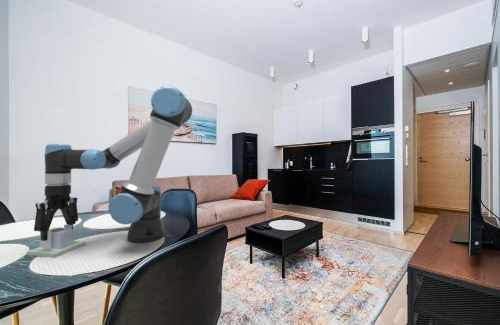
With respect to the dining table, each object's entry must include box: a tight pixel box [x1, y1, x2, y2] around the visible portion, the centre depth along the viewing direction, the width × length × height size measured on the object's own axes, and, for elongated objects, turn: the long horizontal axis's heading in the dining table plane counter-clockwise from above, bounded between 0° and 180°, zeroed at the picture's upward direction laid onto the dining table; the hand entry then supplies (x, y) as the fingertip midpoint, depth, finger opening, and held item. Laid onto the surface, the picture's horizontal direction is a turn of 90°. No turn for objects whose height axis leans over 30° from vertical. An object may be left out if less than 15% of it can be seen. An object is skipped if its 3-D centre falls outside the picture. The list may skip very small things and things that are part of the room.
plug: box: [39, 227, 75, 250], centre depth 83 cm, size 9×5×7 cm, turn 81°
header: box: [25, 240, 87, 258], centre depth 83 cm, size 12×12×5 cm
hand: (57, 244), depth 83 cm, fingers open, 7 cm apart
